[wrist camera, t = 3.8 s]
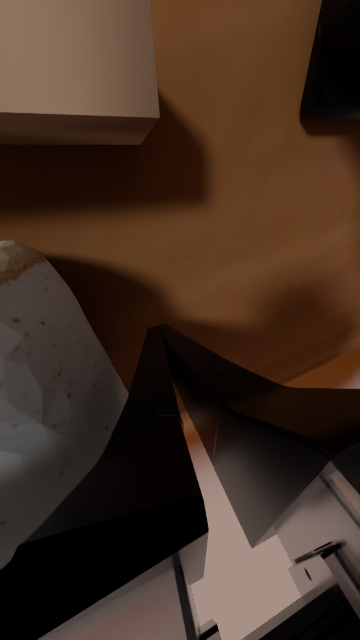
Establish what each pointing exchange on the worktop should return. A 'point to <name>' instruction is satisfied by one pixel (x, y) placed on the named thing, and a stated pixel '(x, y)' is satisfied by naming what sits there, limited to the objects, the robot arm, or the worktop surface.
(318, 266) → the worktop surface
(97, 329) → the worktop surface
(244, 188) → the worktop surface
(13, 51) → the mug dock
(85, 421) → the ceramic mug
